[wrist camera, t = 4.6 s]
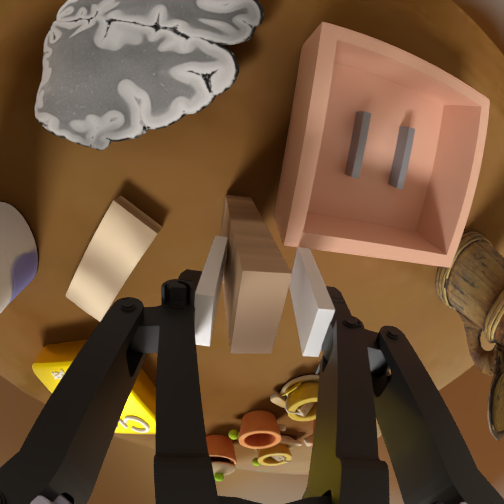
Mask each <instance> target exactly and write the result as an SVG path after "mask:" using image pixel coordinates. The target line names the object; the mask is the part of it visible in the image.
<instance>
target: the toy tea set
mask: <svg viewBox="0 0 504 504" xmlns="http://www.w3.org/2000/svg"><path fill="white" fill-rule="evenodd" d="M318 386H319V375H305V376H301V377H298V378H295V379H293V380H291V381H290V382H288V383H287V384H286V385H285V386H284V387H283V388H282V389H281V391H280V394H273V395H271V396H270V399H271V402H272V403H274V404H276V405H278V406H281V407H283V408H285V409H286V411H287V412H288V416H289V417H290V418H291V419H293V420H297V421H310V420H313V434H312V435H310V436H308V437H306V438H304V443H305V445H306V446H312V445H313V439H314V430H315V421H316V410H317V399H318ZM285 430H286V426H285V425H280V424H277V421H276V418H275V415H274V414H273V413H271V412H268V411H262V410H258V411H252V412H249V413H247V414H245V415H244V416H243V418H242V422H241V428H240V432H239V431H237V430H234V429H233V430H231V431H229V434H228V435H229V437H230V438H229V437H227V436H224V435H209V436H206V441H207V448H208V453H209V456H210V458H211V462H212V467H213V473H214V479H215V480H217V481H222V480H223V479H224V476H223V475H228V474H230V473H232V472H234V471H235V469H236V468H235V465H236V464H237V461H236V456H235V451H234V446H233V441H232V439H238V438H239V439H238V440H239V443H240V444H241V445H242V446H244V447H247V448H252V449H255V450H256V451H257V452H258V458H254V459H253V460H252V463H253V465H255V466H259V465H261V464H262V465H268V466H274V465H280V464H284V463H286V462H287V463H289V462H290V461H291V459H292V455H291V453H290V450H291V449H292V448H293V447H294V446H301V445H302V443H301V441H298V440H294V439H293V438H291V437H289V436H285V435H281V434H280V431H285Z"/></svg>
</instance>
